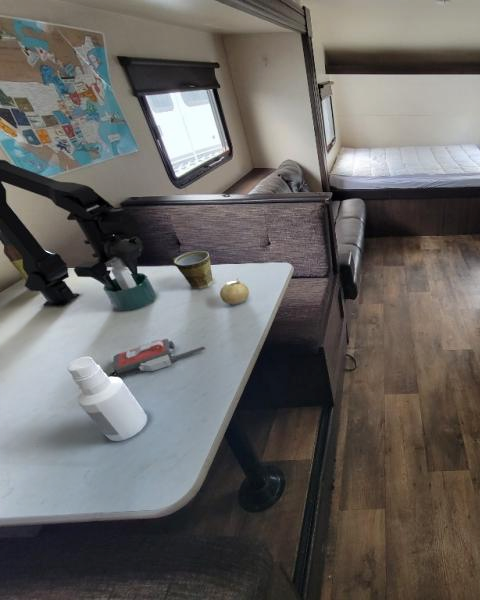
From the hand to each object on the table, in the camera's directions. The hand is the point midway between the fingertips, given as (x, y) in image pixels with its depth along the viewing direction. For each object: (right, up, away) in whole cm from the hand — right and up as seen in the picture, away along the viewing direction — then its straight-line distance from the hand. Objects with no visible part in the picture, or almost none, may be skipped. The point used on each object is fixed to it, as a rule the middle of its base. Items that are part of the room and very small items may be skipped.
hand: (125, 282), depth 102 cm
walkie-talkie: (+23, -20, -17) cm, 36 cm away
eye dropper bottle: (0, -3, +2) cm, 4 cm away
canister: (0, -6, +4) cm, 7 cm away
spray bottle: (+28, -31, -33) cm, 53 cm away
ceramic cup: (+15, 0, +12) cm, 19 cm away
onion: (+32, -6, +4) cm, 33 cm away
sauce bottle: (-39, 0, +13) cm, 41 cm away
